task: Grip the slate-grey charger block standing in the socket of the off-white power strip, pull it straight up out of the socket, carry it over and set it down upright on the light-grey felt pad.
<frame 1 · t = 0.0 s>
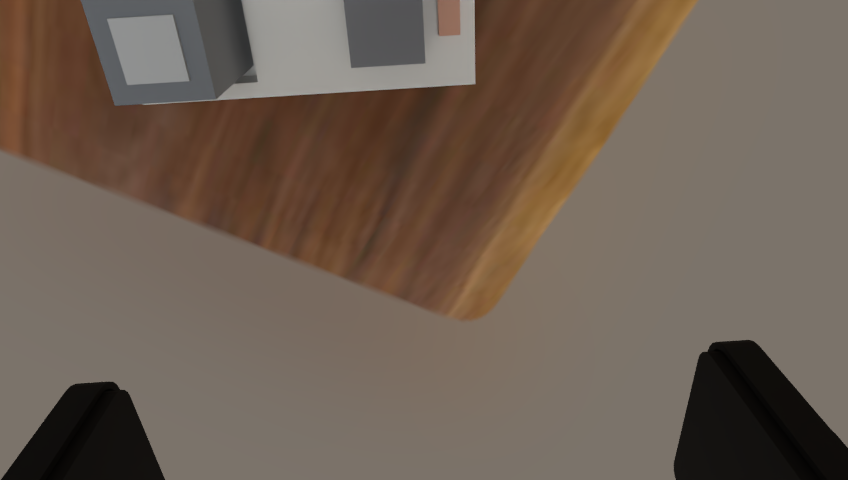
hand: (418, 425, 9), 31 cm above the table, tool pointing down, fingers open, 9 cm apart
power strip: (308, 14, 35), on the table
charger: (203, 25, 33), point 2 cm above the table, touching power strip
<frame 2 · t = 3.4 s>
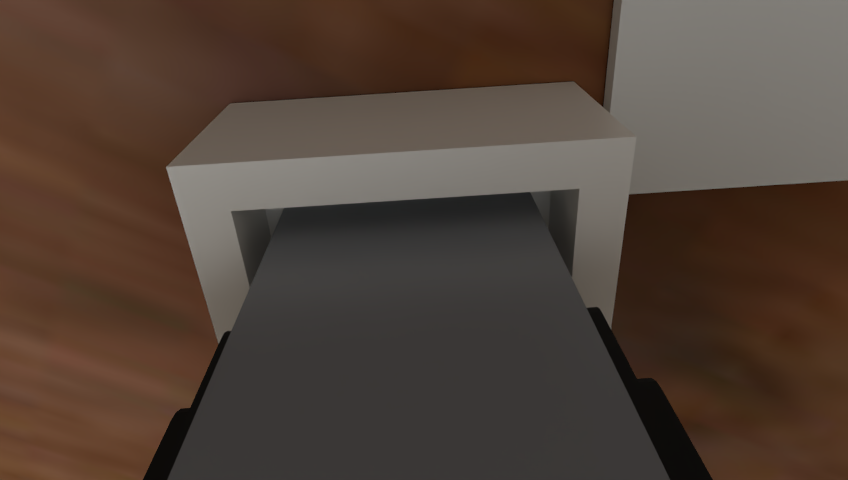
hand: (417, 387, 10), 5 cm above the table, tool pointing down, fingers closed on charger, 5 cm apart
felt pad: (777, 23, 13), on the table
power strip: (425, 406, 18), on the table
charger: (414, 283, 13), point 2 cm above the table, touching gripper, power strip
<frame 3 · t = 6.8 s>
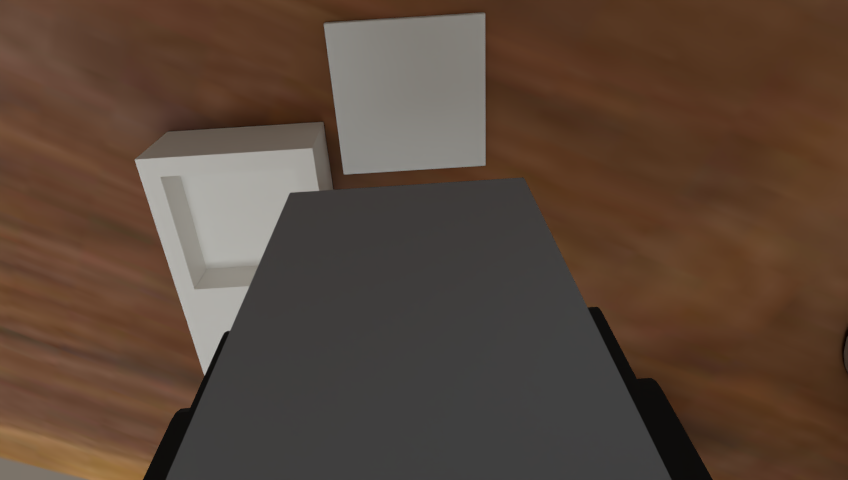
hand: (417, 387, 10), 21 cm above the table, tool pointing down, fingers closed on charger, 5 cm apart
felt pad: (409, 96, 28), on the table
power strip: (280, 289, 34), on the table
charger: (414, 283, 13), point 17 cm above the table, touching gripper
when the fingers open (5 cm above the table, at t = 10.2 s): charger drops 1 cm, resting on felt pad.
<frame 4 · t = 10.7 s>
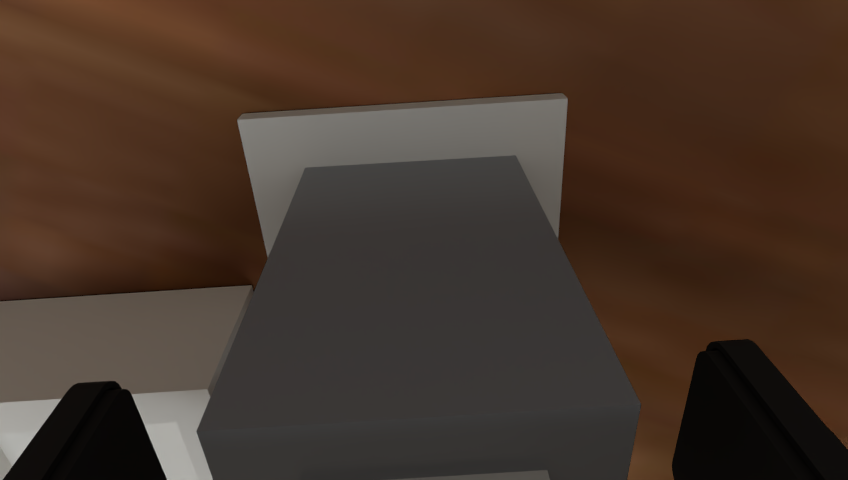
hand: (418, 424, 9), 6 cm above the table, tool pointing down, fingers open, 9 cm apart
felt pad: (412, 242, 15), on the table
charger: (416, 252, 15), resting on felt pad
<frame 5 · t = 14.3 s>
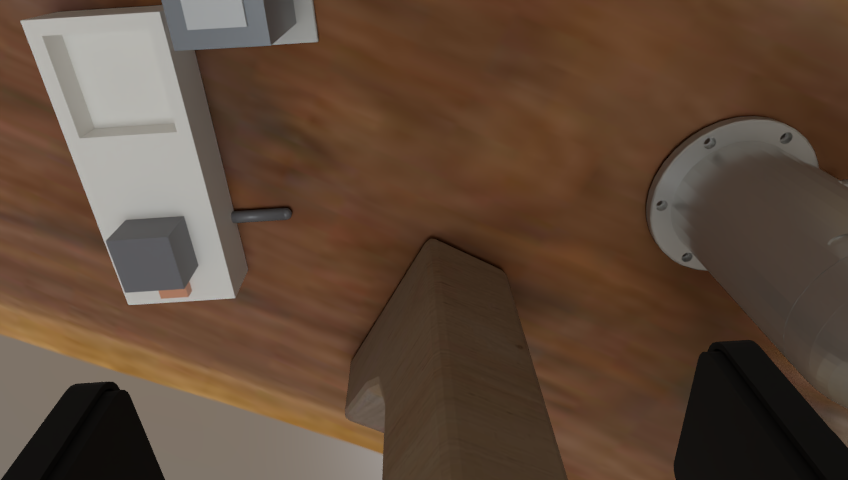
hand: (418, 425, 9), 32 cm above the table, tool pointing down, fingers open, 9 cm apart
decorative block: (424, 316, 49), on the table
power strip: (164, 156, 41), on the table
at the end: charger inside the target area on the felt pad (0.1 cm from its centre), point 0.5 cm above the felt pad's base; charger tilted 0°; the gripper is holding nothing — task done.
